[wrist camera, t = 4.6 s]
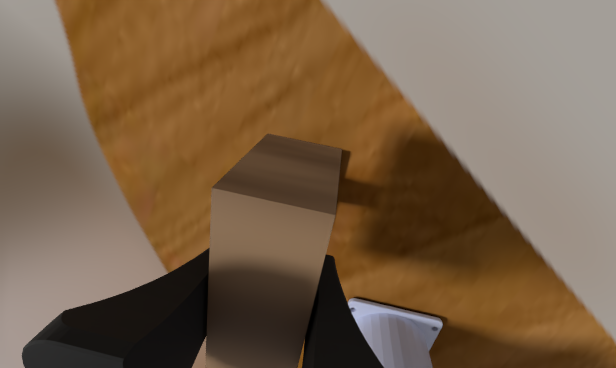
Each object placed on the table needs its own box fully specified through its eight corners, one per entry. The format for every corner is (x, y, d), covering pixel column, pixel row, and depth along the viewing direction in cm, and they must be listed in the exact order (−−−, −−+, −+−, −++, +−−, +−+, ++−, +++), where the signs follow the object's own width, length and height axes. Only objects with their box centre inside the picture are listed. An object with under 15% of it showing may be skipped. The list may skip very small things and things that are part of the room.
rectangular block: (305, 305, 18) (284, 417, 12) (249, 291, 18) (204, 396, 12) (342, 149, 13) (335, 215, 8) (267, 133, 14) (211, 187, 8)
